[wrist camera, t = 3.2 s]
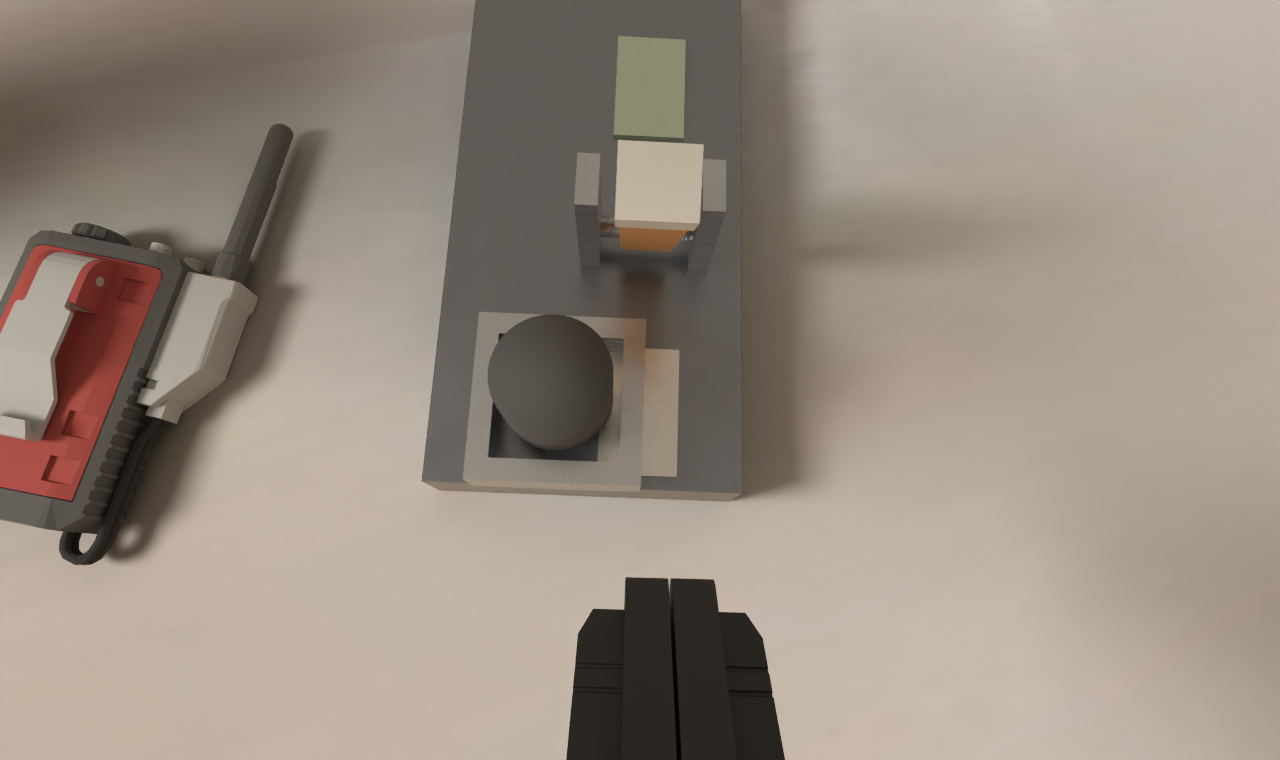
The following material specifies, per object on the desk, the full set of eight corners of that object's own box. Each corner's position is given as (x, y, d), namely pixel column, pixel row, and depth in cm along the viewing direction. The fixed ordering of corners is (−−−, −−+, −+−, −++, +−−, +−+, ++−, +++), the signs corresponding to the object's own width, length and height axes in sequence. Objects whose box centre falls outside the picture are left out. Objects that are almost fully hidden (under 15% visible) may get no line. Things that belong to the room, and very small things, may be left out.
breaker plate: (440, 492, 30) (380, 463, 22) (492, -10, 36) (460, -167, 29) (729, 503, 30) (770, 478, 22) (730, 4, 37) (761, -148, 29)
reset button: (496, 448, 25) (481, 432, 23) (506, 340, 26) (493, 311, 24) (610, 453, 26) (610, 437, 23) (615, 345, 27) (616, 316, 24)
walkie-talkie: (165, 578, 29) (319, 147, 34) (89, 578, 25) (278, 86, 30) (-48, 534, 29) (138, 111, 34) (-161, 527, 25) (72, 45, 30)
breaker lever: (617, 251, 28) (614, 219, 19) (619, 198, 28) (618, 140, 19) (674, 254, 28) (699, 223, 19) (676, 201, 28) (703, 144, 19)
